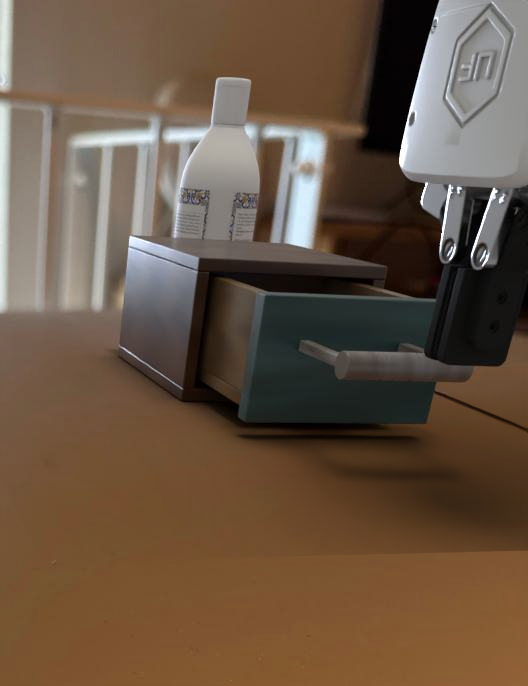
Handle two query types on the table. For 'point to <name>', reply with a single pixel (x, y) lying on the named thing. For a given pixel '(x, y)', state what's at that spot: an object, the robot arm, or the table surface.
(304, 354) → the teal drawer
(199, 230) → the bath foam
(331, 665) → the table surface
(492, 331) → the robot arm
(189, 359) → the cabinet
